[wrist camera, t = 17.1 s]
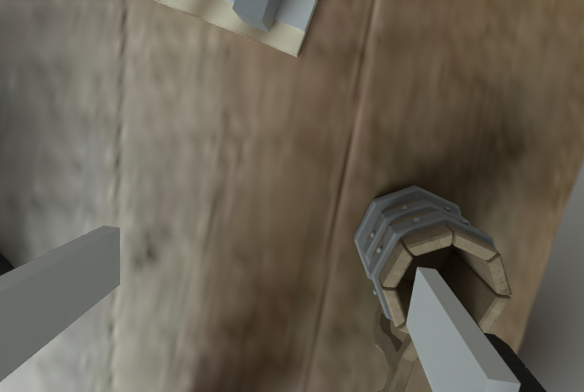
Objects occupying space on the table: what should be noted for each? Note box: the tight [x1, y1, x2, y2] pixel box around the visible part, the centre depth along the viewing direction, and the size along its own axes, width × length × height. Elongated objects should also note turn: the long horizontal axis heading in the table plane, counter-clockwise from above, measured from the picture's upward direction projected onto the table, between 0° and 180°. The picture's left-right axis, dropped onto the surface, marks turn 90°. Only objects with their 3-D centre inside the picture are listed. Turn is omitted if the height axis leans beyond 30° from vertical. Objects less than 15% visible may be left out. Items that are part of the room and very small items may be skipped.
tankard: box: [353, 185, 512, 392], centre depth 38 cm, size 20×13×15 cm, turn 157°
